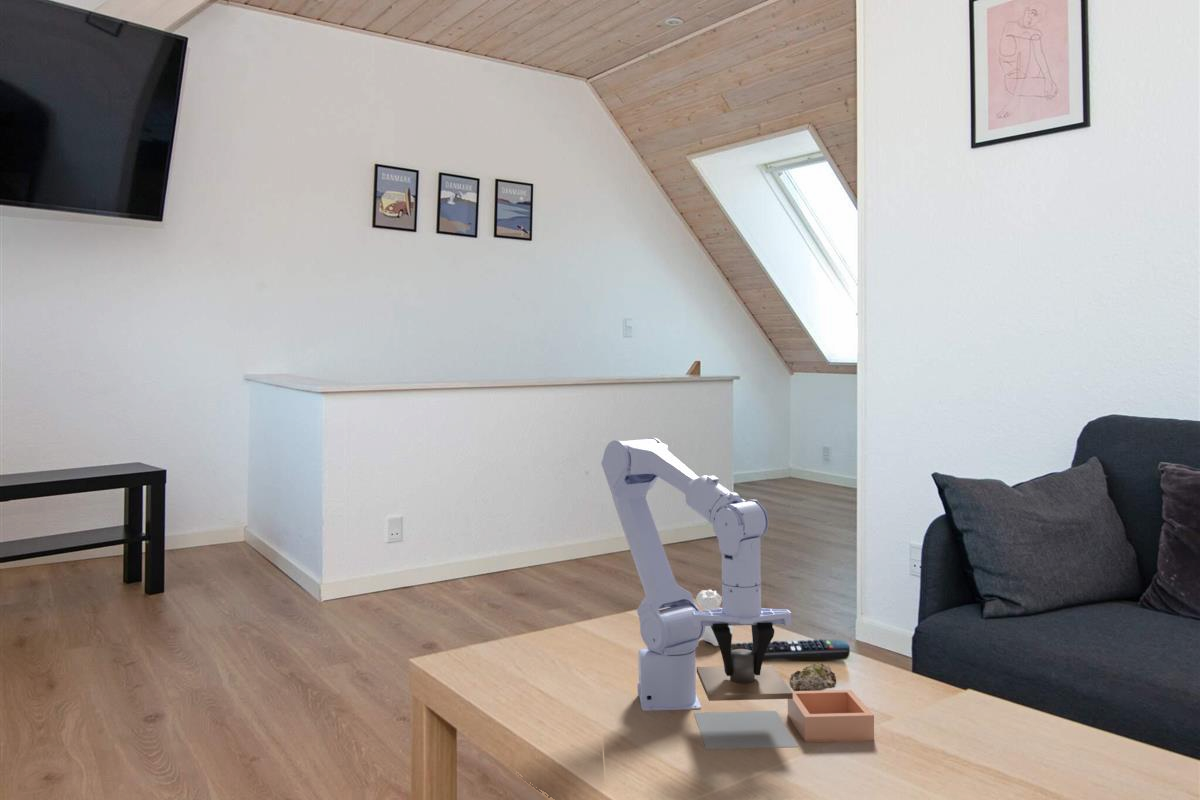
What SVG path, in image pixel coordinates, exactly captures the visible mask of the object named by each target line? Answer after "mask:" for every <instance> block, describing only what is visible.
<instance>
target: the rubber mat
mask: <svg viewBox="0 0 1200 800" xmlns="http://www.w3.org/2000/svg"><path fill="white" fill-rule="evenodd" d="M693 716H694V718H695V722H696V723H697V727H698V730H699V733H700V735H701V738H702V741H703V744H704V747H705V748H706V749H705V750H732V749H733V750H734V749H735V750H738V749H771V748H772V749H773V748H774V749H775V748H777V749H779V748H798V745H797V743H796V742H795V739H794V738H793V735H791V733H790V732H789V729H788V728H787V727H786V725H785V723H784V722H783V720H782V718H781V717H780V715H779V714H778V712H777V710H757V711H756V710H754V711H753V710H752V711H716V712H715V711H713V712H711V711H710V712H693Z"/></svg>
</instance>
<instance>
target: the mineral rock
mask: <svg viewBox="0 0 1200 800" xmlns="http://www.w3.org/2000/svg"><path fill="white" fill-rule="evenodd" d="M836 682H837V676H836V674H835V673H834V671H833V670H832V669H831V667H830V665H828V664H825V663H820V662H818V663H813V664H811V665H809V666H805V667H804V668H803V669H802V670H801V671H800V670H796V671H795V672H794V673H791V674H790V679H789V684H788V685H789V687H792V689H793V691H818V690H821V689H824V688H833V687H835V684H836Z"/></svg>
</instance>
